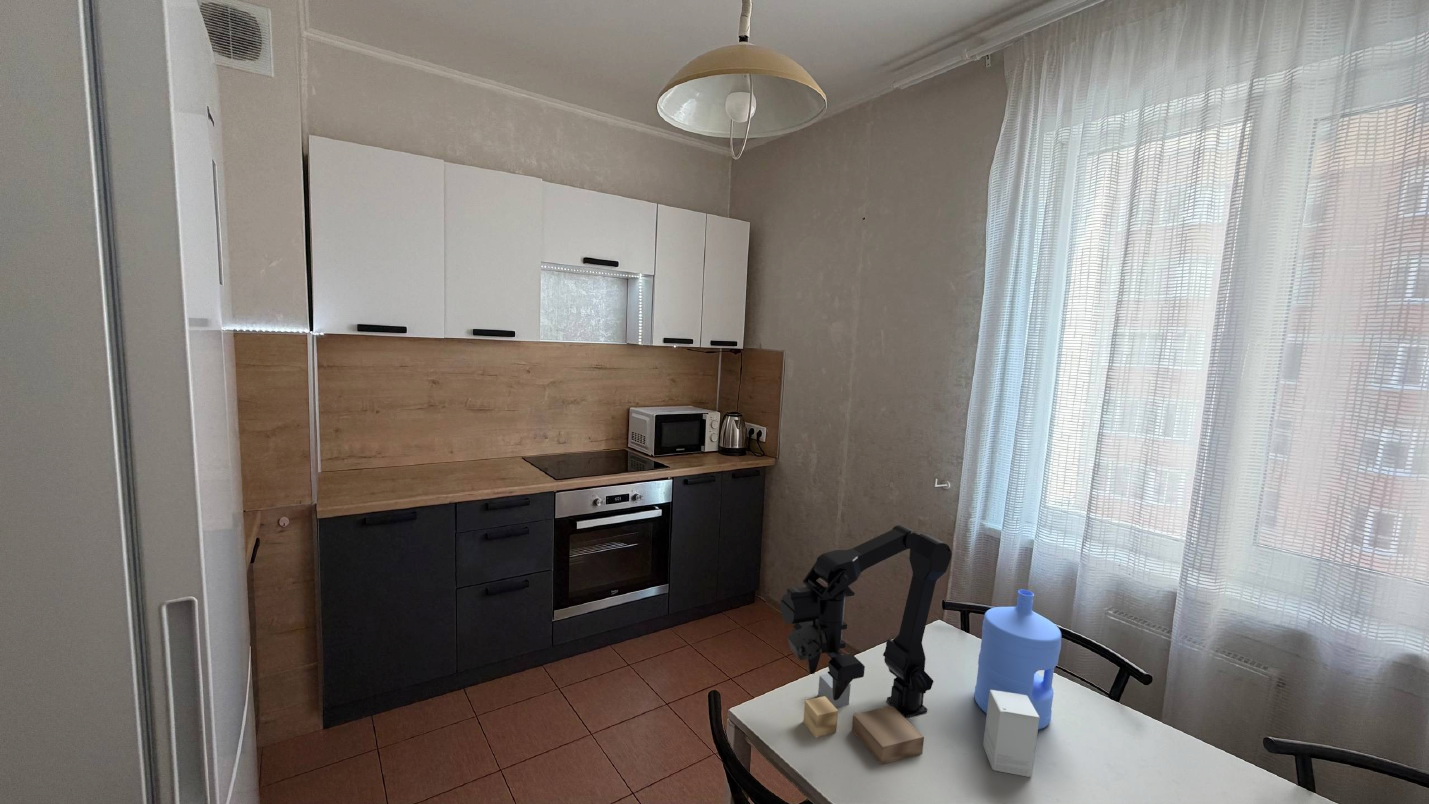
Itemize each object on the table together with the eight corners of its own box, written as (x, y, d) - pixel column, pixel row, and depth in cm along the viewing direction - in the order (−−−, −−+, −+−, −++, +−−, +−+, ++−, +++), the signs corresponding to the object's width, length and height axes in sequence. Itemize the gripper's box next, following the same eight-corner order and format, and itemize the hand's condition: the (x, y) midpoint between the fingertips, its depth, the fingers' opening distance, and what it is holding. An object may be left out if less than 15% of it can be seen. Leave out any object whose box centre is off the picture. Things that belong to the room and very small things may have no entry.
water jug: (975, 719, 127) (989, 599, 123) (972, 680, 141) (985, 572, 138) (1055, 741, 121) (1073, 616, 118) (1044, 699, 136) (1059, 586, 132)
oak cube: (823, 717, 125) (825, 696, 124) (836, 732, 120) (838, 710, 120) (803, 722, 123) (805, 700, 122) (815, 737, 118) (817, 715, 118)
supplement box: (1032, 778, 110) (1041, 718, 109) (991, 770, 112) (999, 711, 110) (1020, 751, 118) (1028, 694, 116) (981, 744, 119) (989, 688, 117)
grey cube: (836, 691, 134) (838, 671, 134) (848, 704, 130) (850, 684, 129) (817, 695, 132) (819, 675, 132) (829, 709, 128) (831, 688, 127)
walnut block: (890, 722, 125) (892, 705, 124) (922, 755, 115) (924, 736, 115) (851, 731, 121) (853, 714, 121) (880, 765, 112) (882, 746, 111)
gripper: (773, 600, 124) (769, 667, 126) (819, 645, 107) (813, 722, 109) (818, 594, 128) (812, 659, 130) (869, 636, 111) (862, 711, 113)
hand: (823, 686), depth 120 cm, fingers open, 9 cm apart
